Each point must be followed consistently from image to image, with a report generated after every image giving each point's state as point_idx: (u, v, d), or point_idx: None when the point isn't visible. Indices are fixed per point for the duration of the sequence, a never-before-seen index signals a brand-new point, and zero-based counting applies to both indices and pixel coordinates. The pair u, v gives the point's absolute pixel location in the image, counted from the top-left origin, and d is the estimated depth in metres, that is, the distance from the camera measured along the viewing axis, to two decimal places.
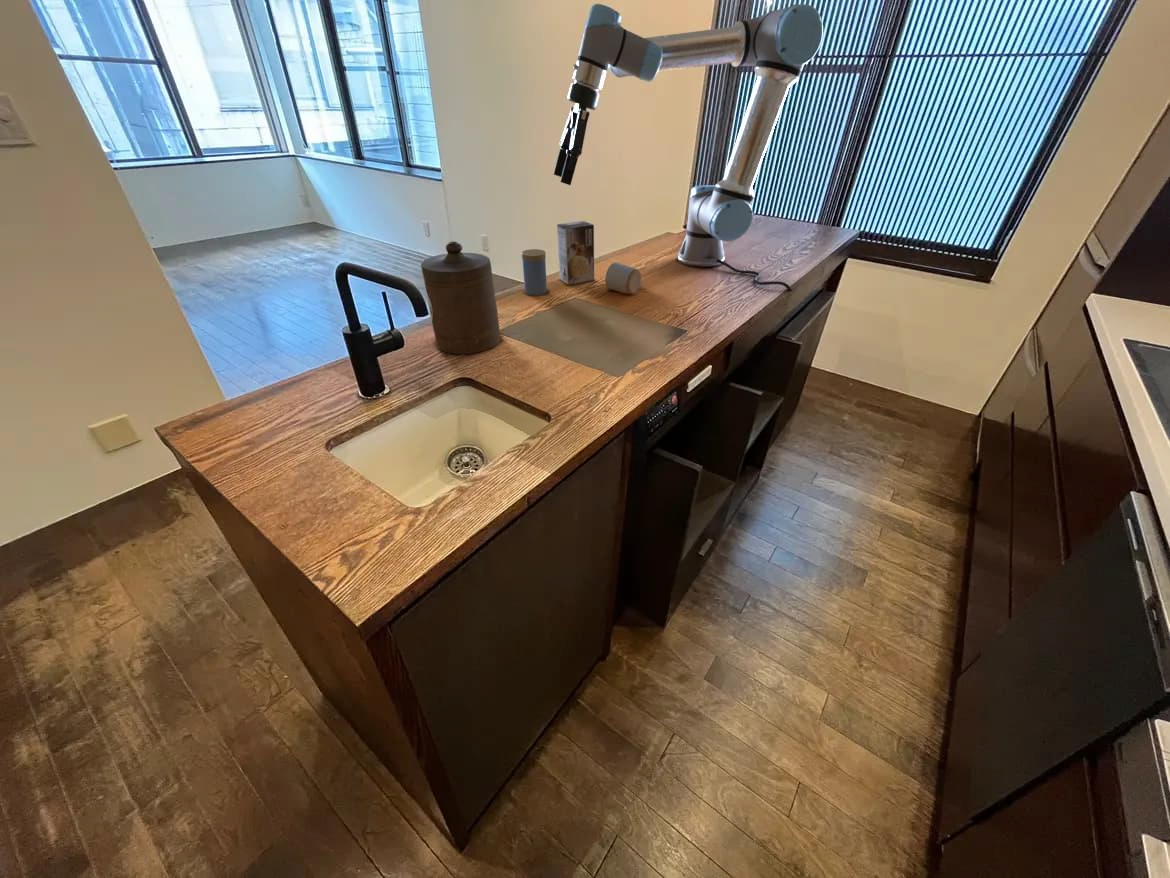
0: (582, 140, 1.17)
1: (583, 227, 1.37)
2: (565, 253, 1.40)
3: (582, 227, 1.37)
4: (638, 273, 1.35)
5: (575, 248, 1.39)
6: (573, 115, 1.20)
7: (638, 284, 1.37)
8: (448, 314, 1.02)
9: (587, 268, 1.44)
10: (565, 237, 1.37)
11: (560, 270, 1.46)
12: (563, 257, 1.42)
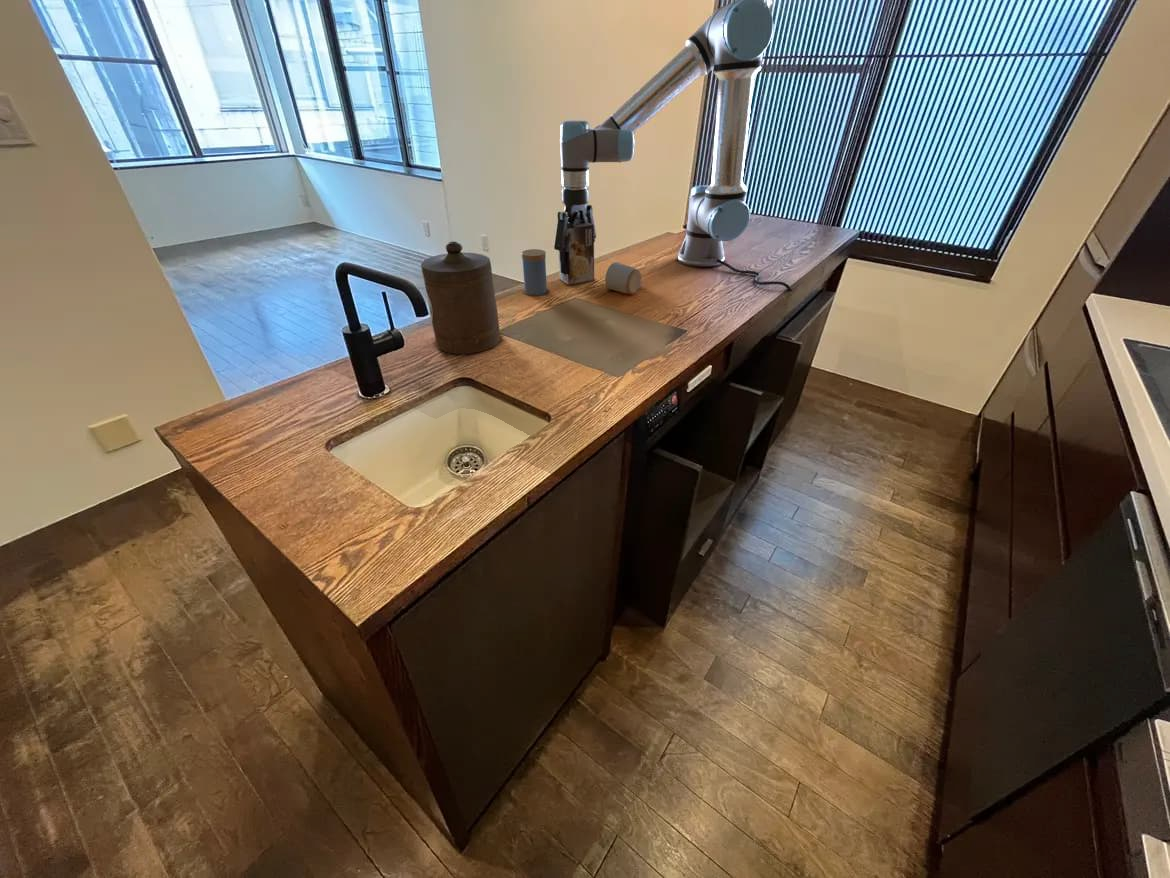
0: (561, 238, 1.34)
1: (583, 227, 1.37)
2: None
3: (582, 227, 1.37)
4: (638, 273, 1.35)
5: (575, 248, 1.39)
6: None
7: (638, 284, 1.37)
8: (448, 314, 1.02)
9: (587, 268, 1.44)
10: None
11: (560, 270, 1.46)
12: None
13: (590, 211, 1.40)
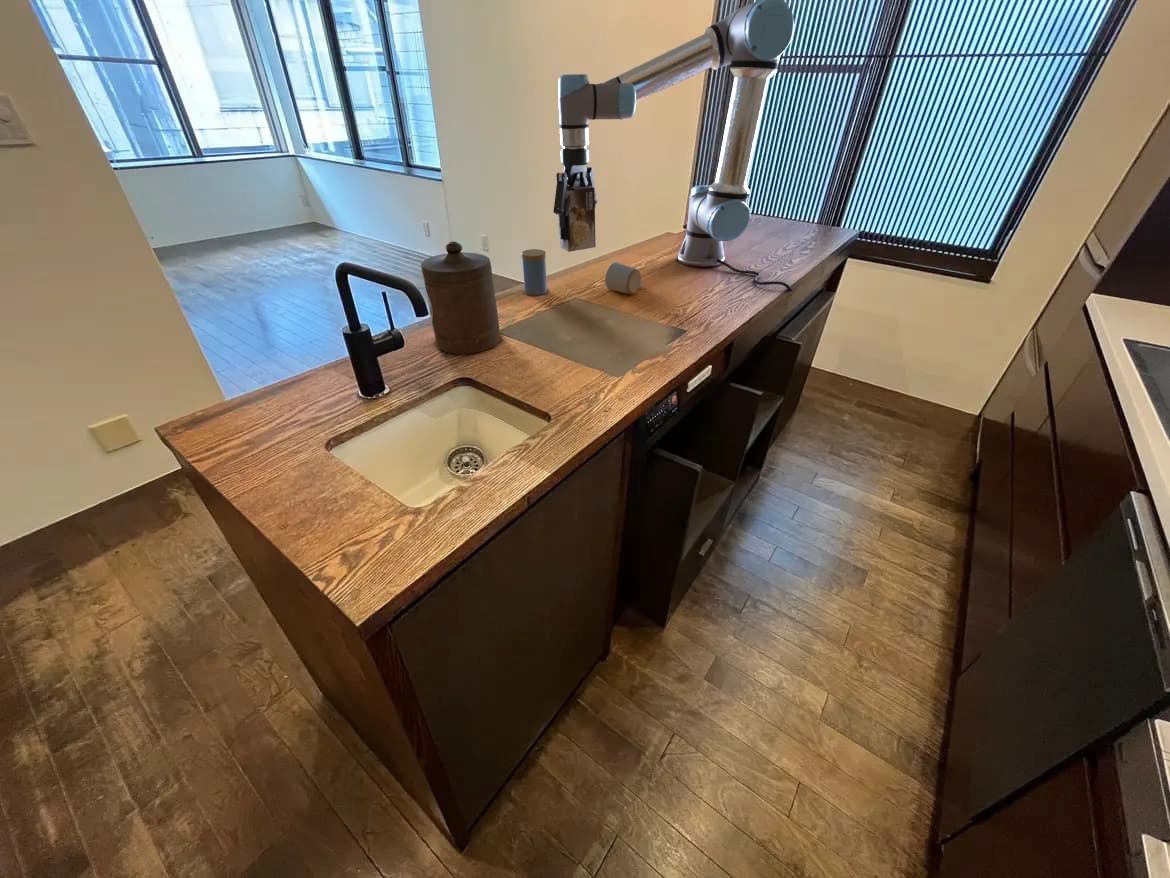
0: (560, 201, 1.29)
1: (583, 190, 1.31)
2: None
3: (582, 190, 1.31)
4: (638, 273, 1.35)
5: (575, 213, 1.34)
6: None
7: (638, 284, 1.37)
8: (448, 314, 1.02)
9: (588, 234, 1.39)
10: None
11: (560, 237, 1.41)
12: None
13: (590, 174, 1.35)
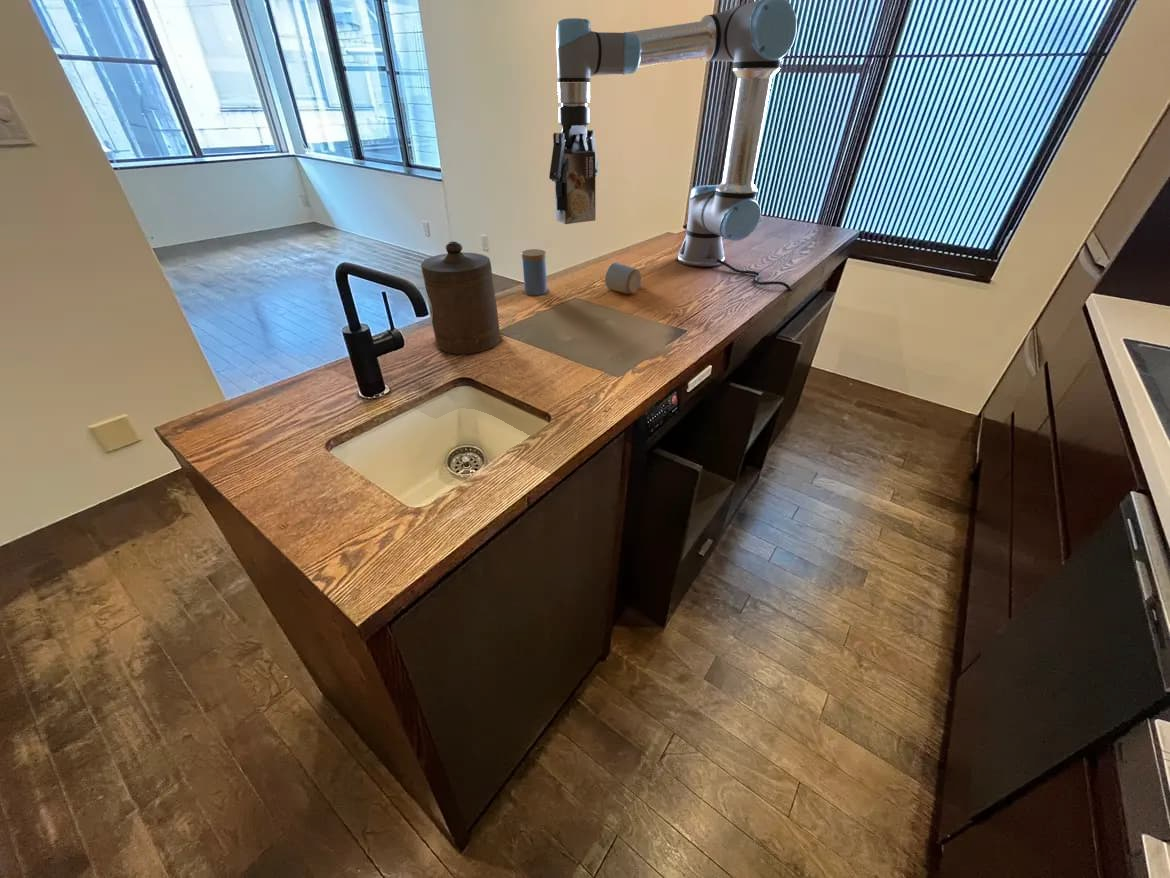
0: (557, 165, 1.15)
1: (583, 154, 1.18)
2: None
3: (582, 154, 1.18)
4: (638, 273, 1.35)
5: (574, 180, 1.20)
6: None
7: (638, 284, 1.37)
8: (448, 314, 1.02)
9: (588, 205, 1.25)
10: None
11: (556, 208, 1.27)
12: None
13: (591, 137, 1.21)
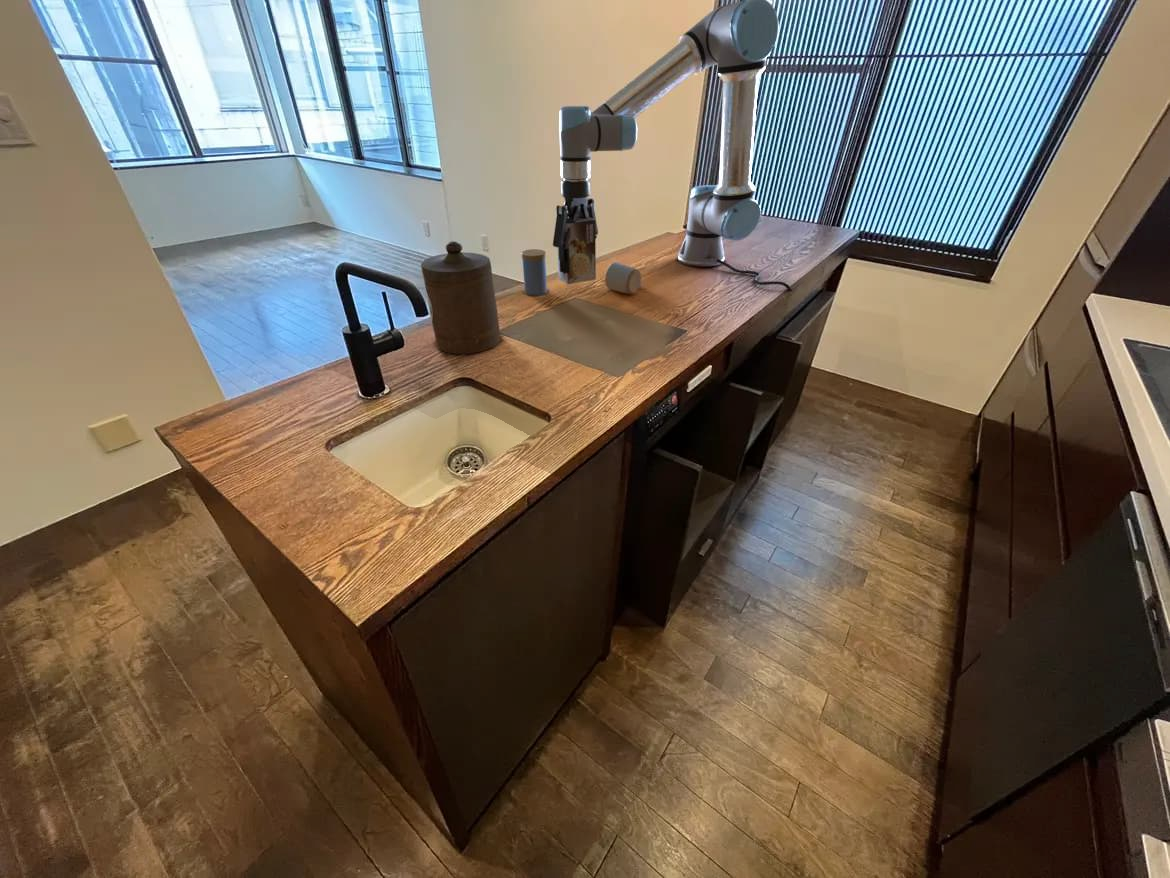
0: (560, 234, 1.24)
1: (584, 222, 1.27)
2: None
3: (583, 222, 1.27)
4: (638, 273, 1.35)
5: (575, 245, 1.29)
6: None
7: (638, 284, 1.37)
8: (448, 314, 1.02)
9: (588, 267, 1.34)
10: None
11: (559, 269, 1.36)
12: None
13: (591, 205, 1.30)
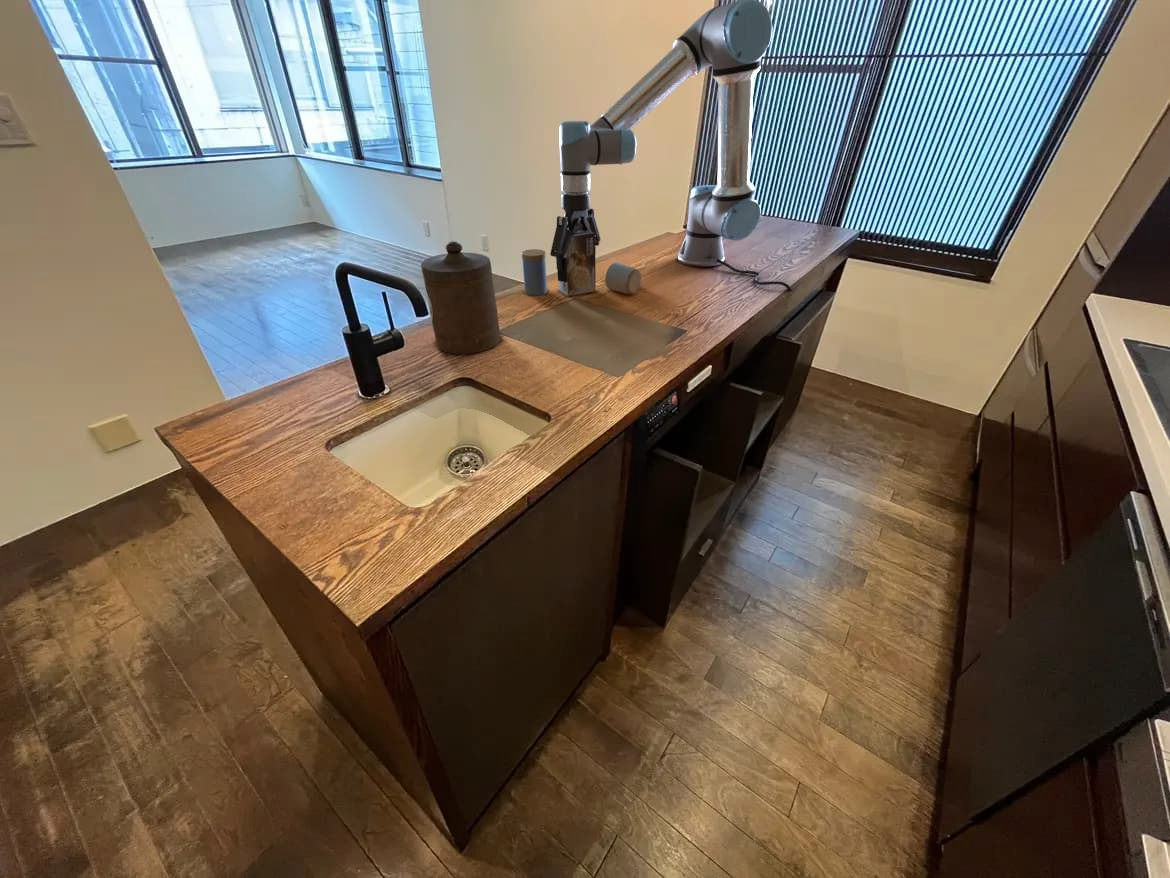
0: (559, 244, 1.25)
1: (584, 236, 1.29)
2: None
3: (583, 236, 1.29)
4: (638, 273, 1.35)
5: (576, 258, 1.31)
6: None
7: (638, 284, 1.37)
8: (448, 314, 1.02)
9: (588, 279, 1.36)
10: None
11: (559, 281, 1.38)
12: None
13: (592, 215, 1.32)
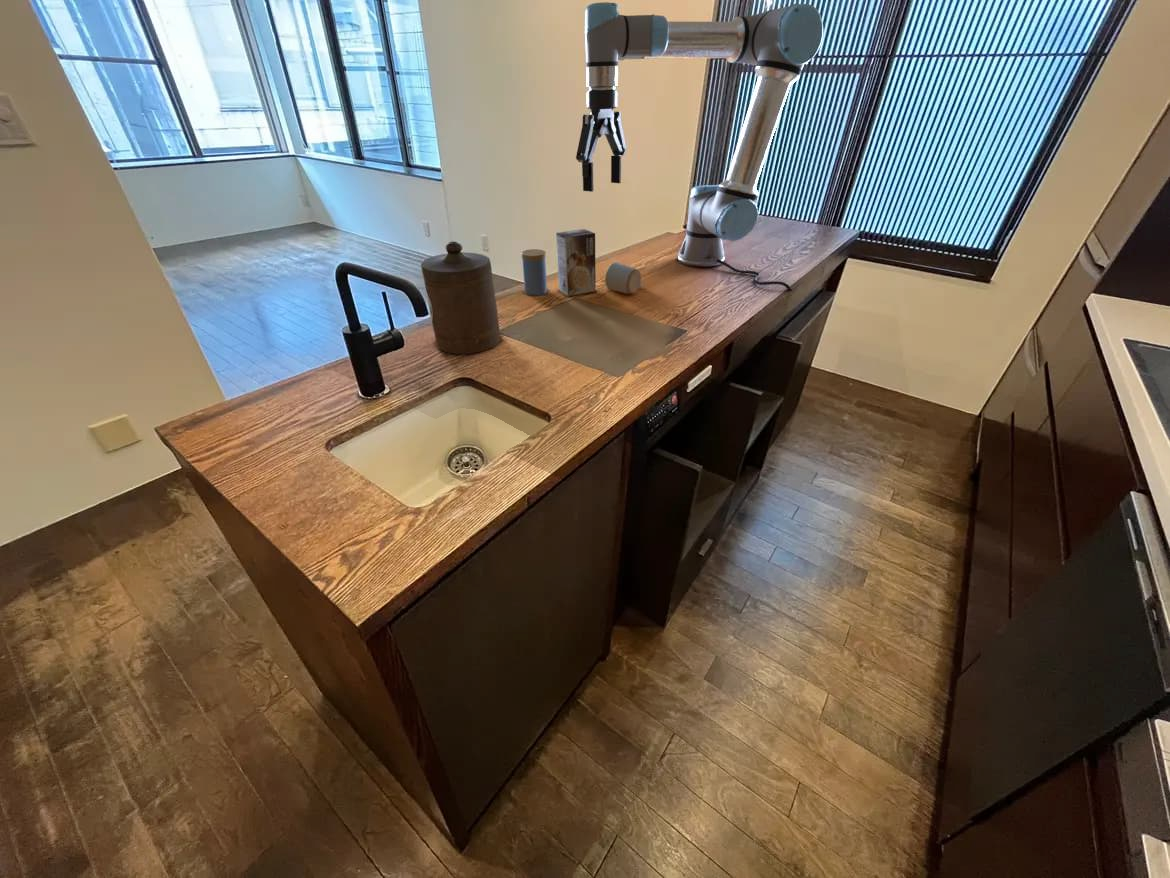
0: (585, 145, 1.17)
1: (584, 236, 1.29)
2: (565, 263, 1.32)
3: (583, 236, 1.29)
4: (638, 273, 1.35)
5: (576, 258, 1.31)
6: None
7: (638, 284, 1.37)
8: (448, 314, 1.02)
9: (588, 279, 1.36)
10: (565, 246, 1.29)
11: (559, 281, 1.38)
12: (562, 267, 1.34)
13: (618, 119, 1.24)
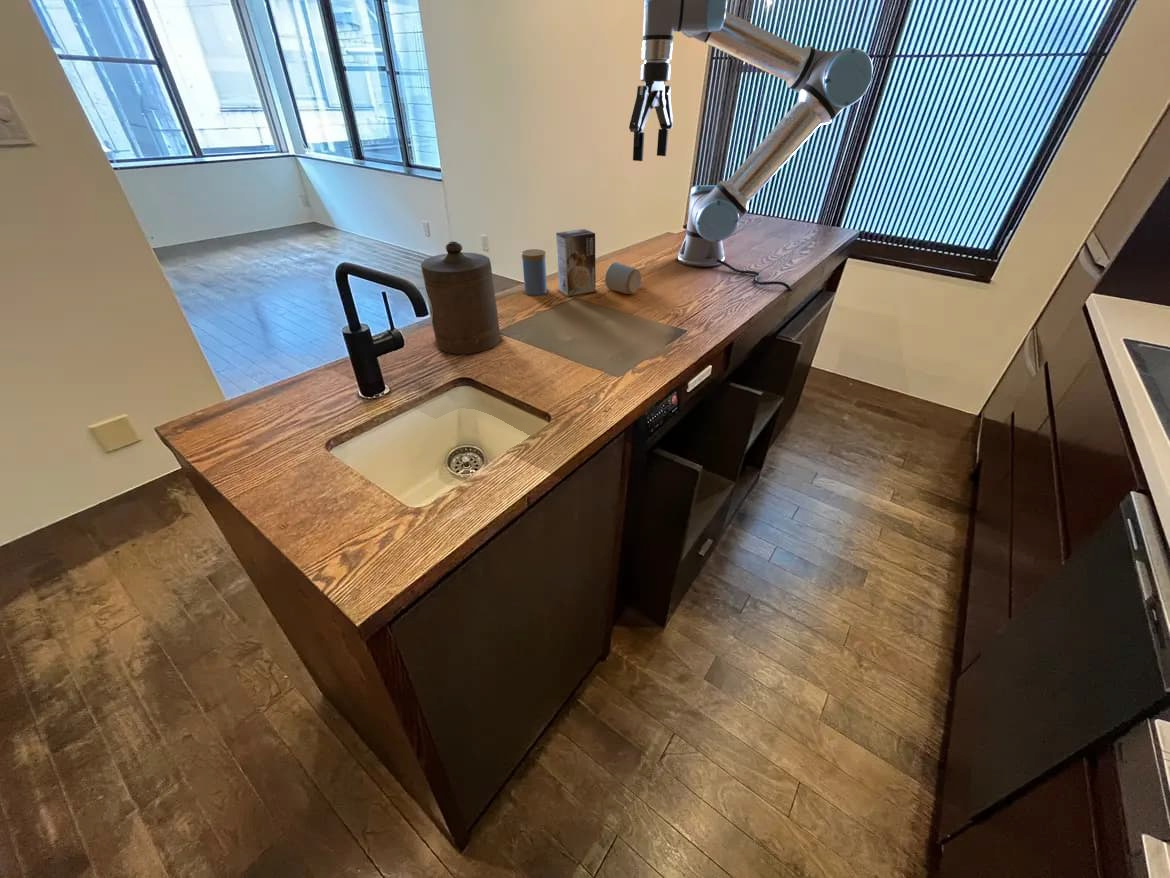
0: (639, 115, 1.23)
1: (584, 236, 1.29)
2: (565, 263, 1.32)
3: (583, 236, 1.29)
4: (638, 273, 1.35)
5: (576, 258, 1.31)
6: None
7: (638, 284, 1.37)
8: (448, 314, 1.02)
9: (588, 279, 1.36)
10: (565, 246, 1.29)
11: (559, 281, 1.38)
12: (562, 267, 1.34)
13: (668, 93, 1.30)
